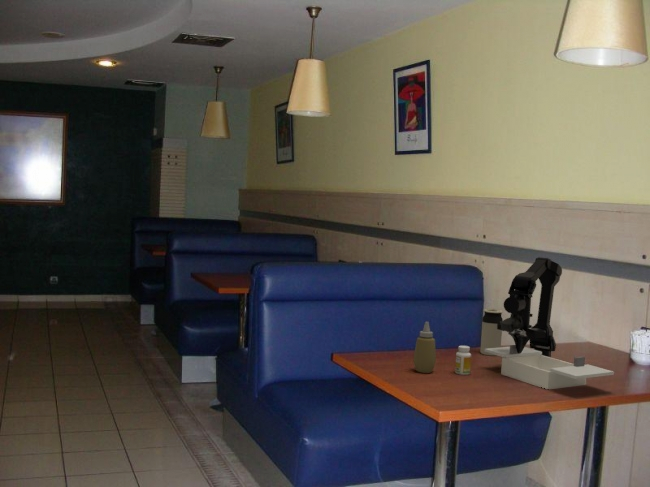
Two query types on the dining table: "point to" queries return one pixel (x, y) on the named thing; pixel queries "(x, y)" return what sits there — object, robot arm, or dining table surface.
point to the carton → (538, 371)
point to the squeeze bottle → (425, 351)
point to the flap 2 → (581, 370)
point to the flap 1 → (512, 351)
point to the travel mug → (491, 330)
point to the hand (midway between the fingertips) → (519, 353)
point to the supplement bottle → (463, 360)
